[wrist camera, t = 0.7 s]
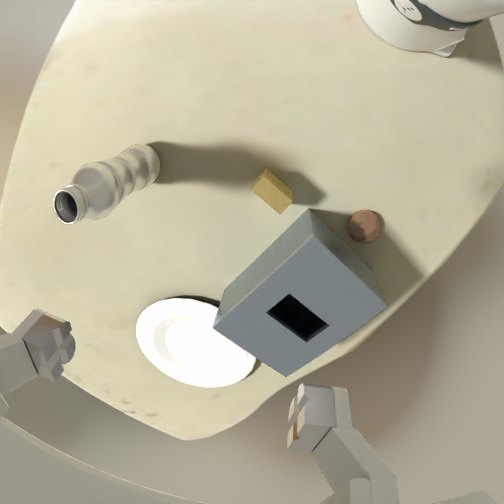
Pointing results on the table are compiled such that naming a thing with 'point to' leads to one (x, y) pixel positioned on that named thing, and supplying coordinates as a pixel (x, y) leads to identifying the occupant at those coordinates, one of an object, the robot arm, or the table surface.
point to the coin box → (299, 297)
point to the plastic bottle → (106, 184)
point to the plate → (191, 344)
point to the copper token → (364, 226)
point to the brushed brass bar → (272, 191)
